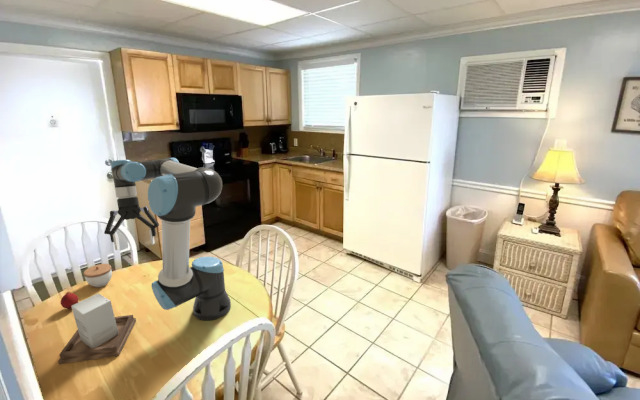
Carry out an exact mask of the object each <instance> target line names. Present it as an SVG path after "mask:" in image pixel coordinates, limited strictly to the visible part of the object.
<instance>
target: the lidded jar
mask: <svg viewBox="0 0 640 400" xmlns="http://www.w3.org/2000/svg"><path fill="white" fill-rule="evenodd" d="M83 276H84V279H85V281H86V282H87V284H88V285H90V286H91V287H94V288H101V287H102V288H103V287H104V286H106V285H108V284H109V282H110V280H111V279H112V276H113V272H112V266H111V264H110V263H109V264H108V263H99V264H96V265H92V266H90V267H88V268H86V269H85V270H84V271H83Z"/></svg>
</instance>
